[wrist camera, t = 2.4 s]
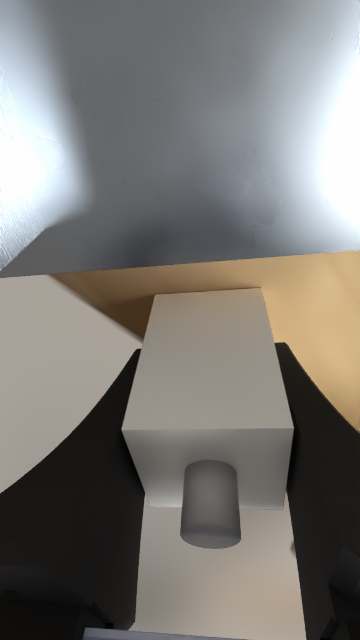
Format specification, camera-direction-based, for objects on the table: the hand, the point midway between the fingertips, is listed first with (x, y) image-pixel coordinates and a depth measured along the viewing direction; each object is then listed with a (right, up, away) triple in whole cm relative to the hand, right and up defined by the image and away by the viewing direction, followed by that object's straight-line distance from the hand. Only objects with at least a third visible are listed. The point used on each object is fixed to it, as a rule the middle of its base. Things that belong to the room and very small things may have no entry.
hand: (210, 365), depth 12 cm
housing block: (0, +1, +2) cm, 2 cm away
